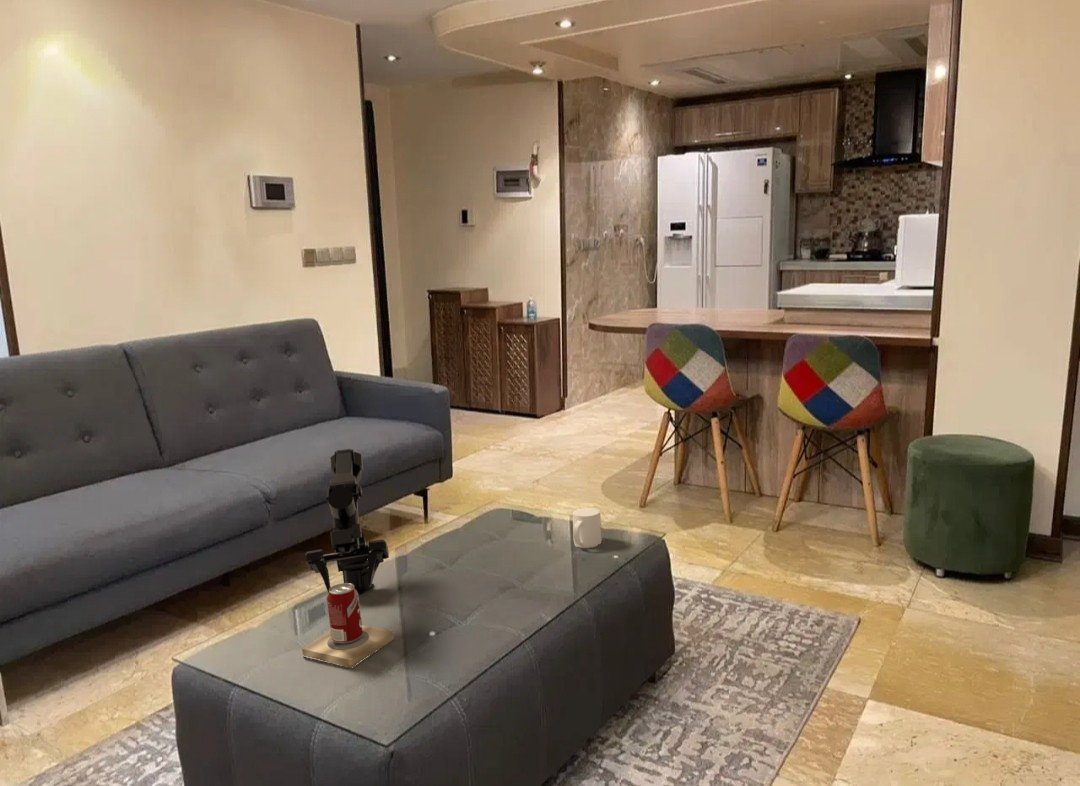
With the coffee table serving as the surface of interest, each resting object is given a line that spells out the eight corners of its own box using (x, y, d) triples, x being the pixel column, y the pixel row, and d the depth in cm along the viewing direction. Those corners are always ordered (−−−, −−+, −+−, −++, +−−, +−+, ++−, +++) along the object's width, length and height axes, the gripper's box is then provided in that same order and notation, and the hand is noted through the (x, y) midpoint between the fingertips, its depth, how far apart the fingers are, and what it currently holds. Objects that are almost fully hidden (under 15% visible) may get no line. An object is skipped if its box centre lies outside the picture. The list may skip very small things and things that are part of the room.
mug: (581, 505, 240) (605, 508, 236) (583, 535, 241) (607, 538, 237) (562, 518, 229) (587, 521, 225) (564, 549, 231) (589, 552, 227)
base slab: (303, 657, 177) (302, 648, 176) (346, 629, 189) (345, 621, 188) (352, 668, 170) (350, 659, 170) (393, 639, 182) (392, 630, 182)
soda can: (343, 648, 174) (337, 596, 172) (325, 641, 179) (319, 590, 177) (369, 636, 179) (363, 585, 177) (351, 629, 184) (345, 579, 182)
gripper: (298, 519, 186) (300, 583, 178) (380, 507, 188) (385, 569, 180) (309, 539, 195) (311, 600, 187) (386, 526, 198) (391, 587, 189)
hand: (349, 589), depth 185 cm, fingers open, 9 cm apart
